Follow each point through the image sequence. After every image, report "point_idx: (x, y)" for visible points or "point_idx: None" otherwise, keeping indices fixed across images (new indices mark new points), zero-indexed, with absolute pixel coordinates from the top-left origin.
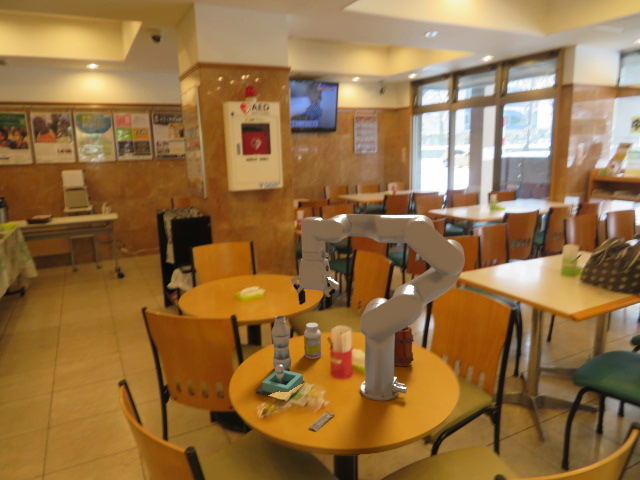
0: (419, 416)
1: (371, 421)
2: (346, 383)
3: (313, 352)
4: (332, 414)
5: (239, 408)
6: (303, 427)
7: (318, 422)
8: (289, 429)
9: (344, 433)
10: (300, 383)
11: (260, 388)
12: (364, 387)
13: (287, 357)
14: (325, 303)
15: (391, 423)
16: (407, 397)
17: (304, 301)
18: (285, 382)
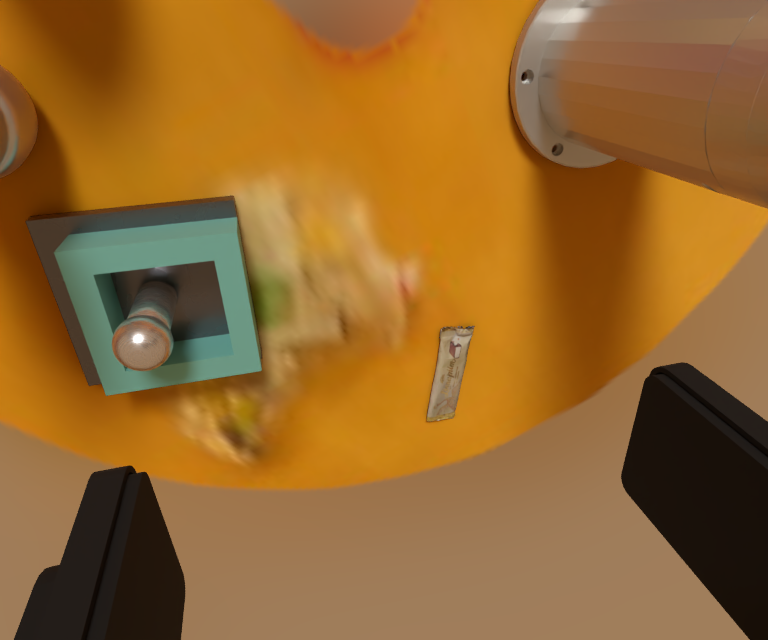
0: None
1: (597, 287)
2: (427, 82)
3: None
4: (469, 333)
5: None
6: (407, 422)
7: (445, 391)
8: (373, 450)
9: (532, 378)
10: (241, 245)
11: (94, 364)
12: (538, 109)
13: (3, 135)
14: (676, 546)
15: (658, 262)
16: None
17: (152, 517)
18: None
